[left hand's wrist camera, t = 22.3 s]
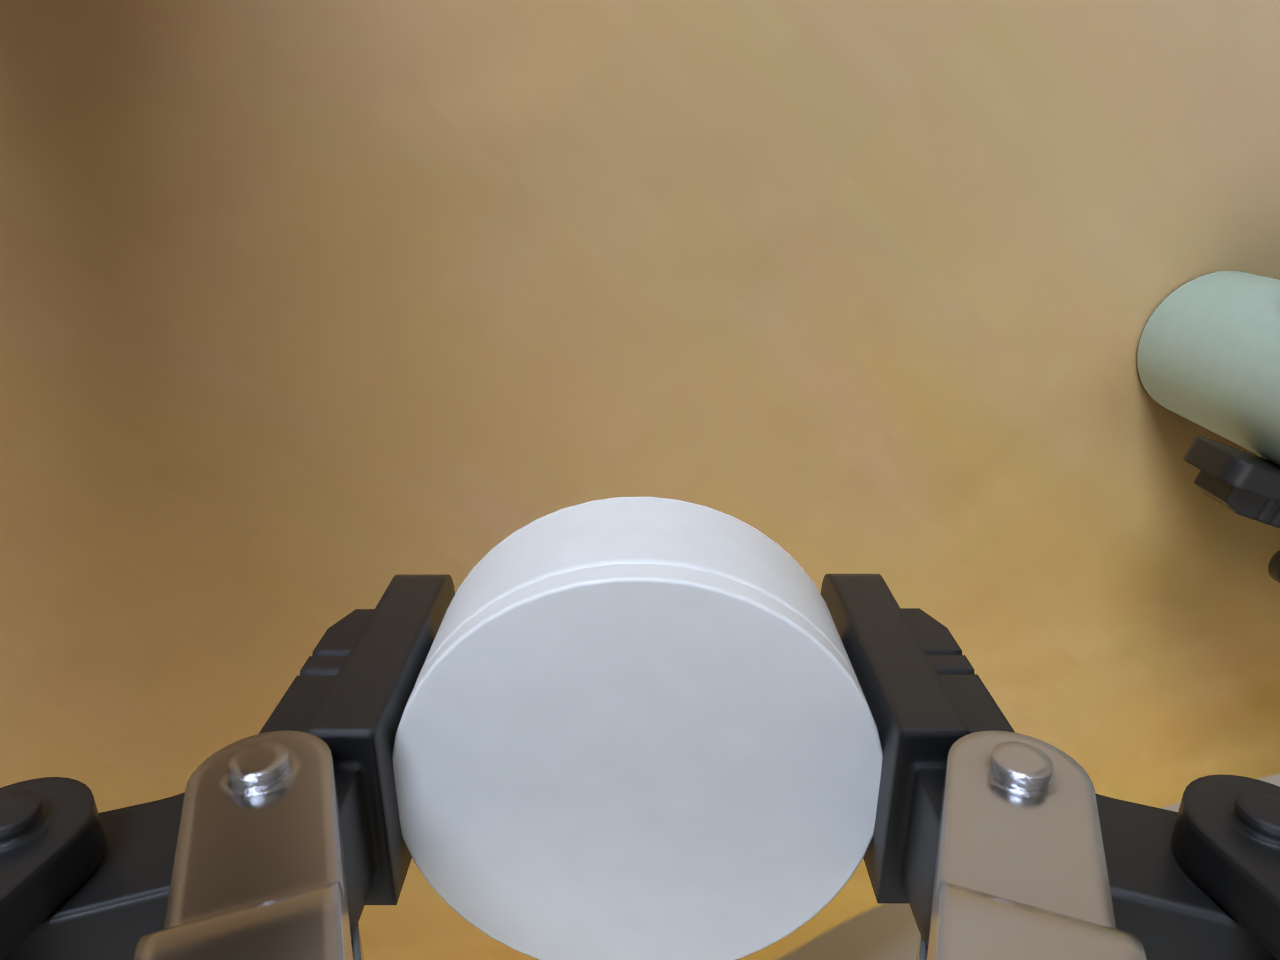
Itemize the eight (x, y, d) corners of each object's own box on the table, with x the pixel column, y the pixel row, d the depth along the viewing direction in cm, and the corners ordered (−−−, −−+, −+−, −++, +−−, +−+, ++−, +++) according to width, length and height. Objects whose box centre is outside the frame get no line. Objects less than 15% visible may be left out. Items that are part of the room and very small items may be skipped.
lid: (382, 539, 10) (319, 633, 8) (810, 454, 10) (852, 530, 8) (497, 866, 12) (469, 1007, 10) (862, 804, 12) (909, 938, 10)
